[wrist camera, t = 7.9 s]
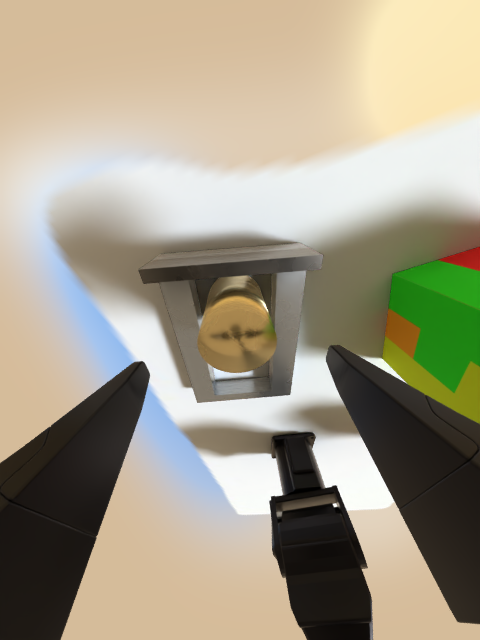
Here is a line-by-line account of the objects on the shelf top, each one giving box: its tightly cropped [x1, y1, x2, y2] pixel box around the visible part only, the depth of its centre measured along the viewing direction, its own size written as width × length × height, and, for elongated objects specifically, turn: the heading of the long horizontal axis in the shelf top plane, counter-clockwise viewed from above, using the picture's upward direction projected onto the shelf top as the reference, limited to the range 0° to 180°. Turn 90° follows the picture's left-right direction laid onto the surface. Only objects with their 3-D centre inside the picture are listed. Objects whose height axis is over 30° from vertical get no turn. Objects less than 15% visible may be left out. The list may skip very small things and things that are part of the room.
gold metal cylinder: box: [197, 275, 277, 373], centre depth 13 cm, size 4×4×6 cm
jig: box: [139, 243, 323, 403], centre depth 15 cm, size 15×10×4 cm, turn 4°
